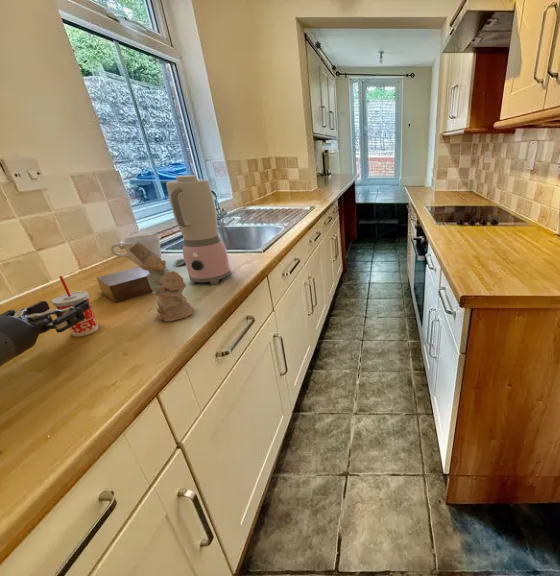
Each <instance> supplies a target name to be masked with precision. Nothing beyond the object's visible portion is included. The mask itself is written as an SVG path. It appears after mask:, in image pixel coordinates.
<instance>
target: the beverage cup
mask: <svg viewBox="0 0 560 576" xmlns="http://www.w3.org/2000/svg"><path fill="white" fill-rule="evenodd" d="M58 277H59V280H60V281H61V284H62V286H63V289H64V290H65V292H66V293H64V294H61V295H59V296H56V297H55V298H53V299H52V300H51V303H52V305H53V307H56V309H58V310H61V309H65V308H68V307H70V306H72V305H74V304H75V303H77V302H79V301H81V300H87V301H88V303H89V305H90V308H89V309H88V310H86V311H84V312H83V313H84V316H85V319H84V320H82V321H80V322H79V323H77V324H75V325H74V326H72V327H70V328H68V330H69V331H70V333H71V334H72V336H73V337H85V336H88V335H91V334H93V333H95V332H96V331H98V330H99V325H98V322H97V319H96V317H95V314H94V311H93V308H92V304H91V303H90V295H89V292H88V291H83V290H81V291H72V292H70V291H69V288H68V286H67V284H66V281H65V279H64V276H63V275H59V276H58ZM66 313H68V312H66ZM66 313H63V314H62V315H64V314H66Z"/></svg>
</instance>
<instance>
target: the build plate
mask: <svg viewBox="0 0 560 576" xmlns="http://www.w3.org/2000/svg"><path fill="white" fill-rule="evenodd" d="M176 261H177V262H176V267H183V266H186V263H185V260H184V258H182V259H177V260H176Z"/></svg>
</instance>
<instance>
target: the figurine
mask: <svg viewBox="0 0 560 576" xmlns="http://www.w3.org/2000/svg"><path fill="white" fill-rule="evenodd" d="M129 250H130V251H131V252H132V253H133V254H134V255H135V256H136V257H137V258H138V259H139V260H140V261H141V262H142V269H143V270H147V271H148V272H149V275H147V279H148V282H149V284H150V288H151V289H152V290H153V291H152V292H151V293H152V294H153V295H154V296H157V298H158V300H157V306H158V308H157V309H156V311H157V315H156V318H155V319H156V320H157V321H165V322H173V321H176V320H182V319H186V318H188V317H189V316H190V315H191V314H192V313H193V312H194V308H193V306H192V305H191V303H190V302H189V301H188V300H187V298H186V297H185V295H184V294H183V291H184V289H185V288H186V286H187V284H186V282H185V279H184V277H182V275H181V274H180V273H178V272H177V271H171V270H169V269H167V261H166V260H165V259H162V257H161V258H160V257H159V255H158V254H155V253H153V252H152V251H150V250H149V249H147V248H146V247H145V246H144V245H142V244H141V243H140V242H137V243H135V244H134V245H133V246H132V247H131V248H130V249H129Z"/></svg>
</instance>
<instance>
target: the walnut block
mask: <svg viewBox="0 0 560 576" xmlns="http://www.w3.org/2000/svg"><path fill="white" fill-rule="evenodd" d="M147 275H149V272H148V271H147V270H143V269H142V268H141V267H140V266H138V267H137V266H136V267H133V268H129V269H125V270H121V271H117V272H113V273H110V274H104V275H101V276H97V277H96V281H97V283H98V286H99V289H100V291H101V293H102V294H103V295H105V296H106V297H107V298H108V299H110V300H111V301H113V302H114V303H119V302H121V301H125V300H129V299H132V298H134V297H138V296H142V295H145V294H148V293H152V292H153V290H152V289H151V288H150V284H149V282H148V279H147Z"/></svg>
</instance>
